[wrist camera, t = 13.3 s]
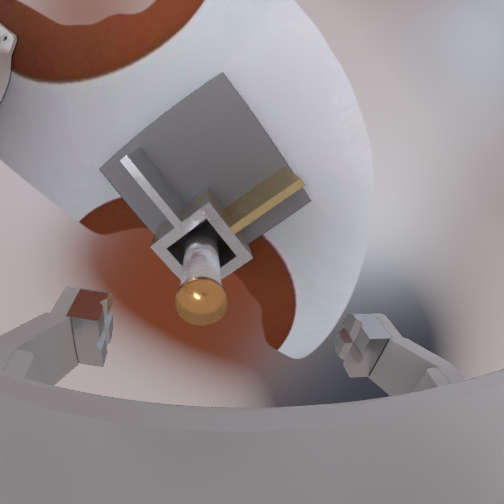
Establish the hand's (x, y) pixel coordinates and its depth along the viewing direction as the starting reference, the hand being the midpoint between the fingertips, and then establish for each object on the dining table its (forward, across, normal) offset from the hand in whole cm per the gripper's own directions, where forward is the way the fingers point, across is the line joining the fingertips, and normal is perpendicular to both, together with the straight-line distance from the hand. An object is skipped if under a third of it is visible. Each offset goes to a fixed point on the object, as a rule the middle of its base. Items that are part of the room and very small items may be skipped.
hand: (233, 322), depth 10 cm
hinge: (+34, -1, +3) cm, 34 cm away
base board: (+35, 0, +3) cm, 35 cm away
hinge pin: (+34, -1, +10) cm, 35 cm away
